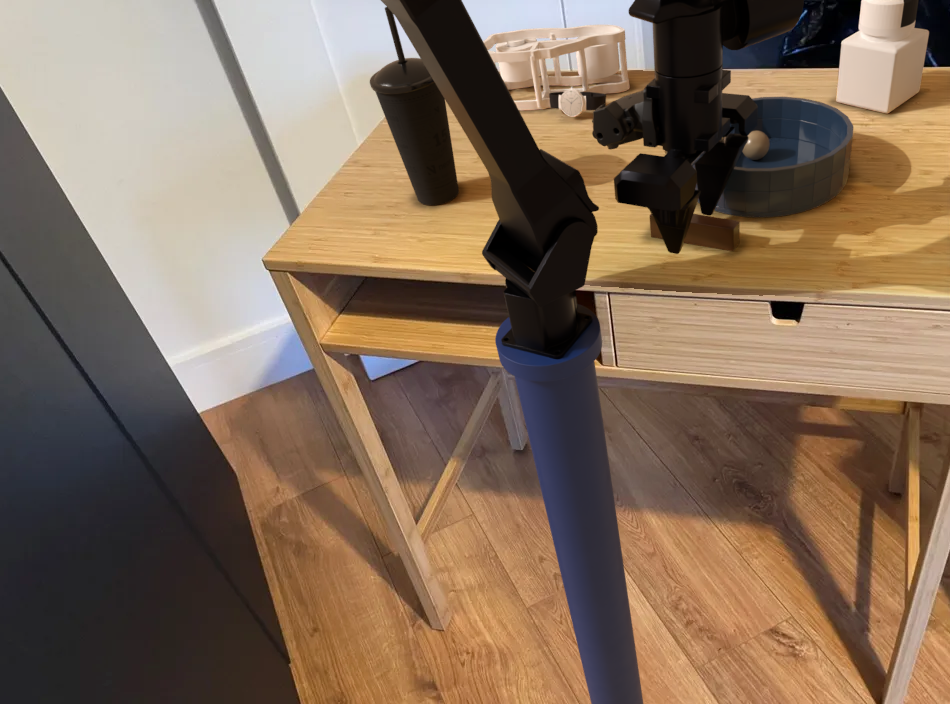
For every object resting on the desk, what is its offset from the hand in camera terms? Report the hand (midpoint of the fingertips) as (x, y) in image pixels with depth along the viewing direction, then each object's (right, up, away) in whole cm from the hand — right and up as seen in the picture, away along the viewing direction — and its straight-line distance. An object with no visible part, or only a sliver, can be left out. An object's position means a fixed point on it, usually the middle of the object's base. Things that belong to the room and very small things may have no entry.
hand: (691, 232), depth 80 cm
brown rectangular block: (0, 0, +1) cm, 1 cm away
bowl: (+9, +8, +9) cm, 15 cm away
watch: (-11, +24, +25) cm, 36 cm away
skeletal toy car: (-14, +27, +32) cm, 44 cm away
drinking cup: (-27, +8, +15) cm, 32 cm away
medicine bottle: (+25, +21, +19) cm, 38 cm away
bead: (+8, +12, +9) cm, 17 cm away
